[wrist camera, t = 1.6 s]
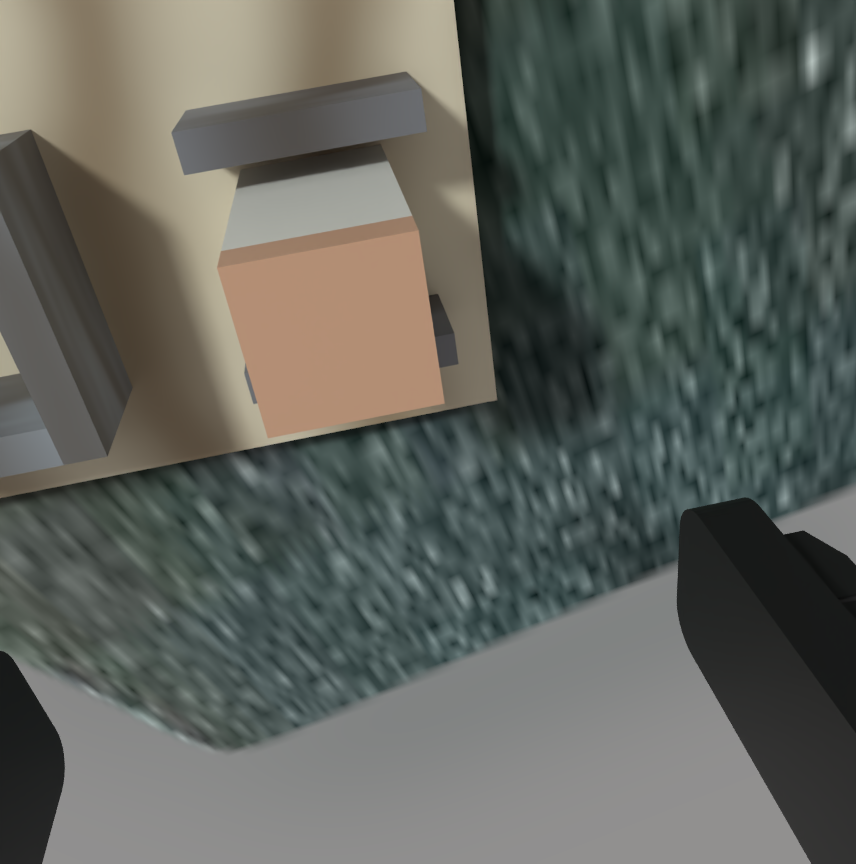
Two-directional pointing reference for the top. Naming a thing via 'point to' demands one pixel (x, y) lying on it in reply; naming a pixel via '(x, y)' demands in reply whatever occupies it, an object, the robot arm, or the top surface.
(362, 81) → the panel
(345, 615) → the top surface
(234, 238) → the plug
